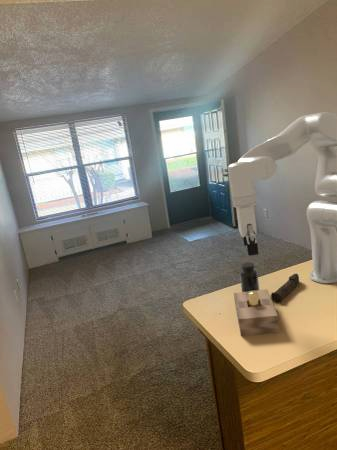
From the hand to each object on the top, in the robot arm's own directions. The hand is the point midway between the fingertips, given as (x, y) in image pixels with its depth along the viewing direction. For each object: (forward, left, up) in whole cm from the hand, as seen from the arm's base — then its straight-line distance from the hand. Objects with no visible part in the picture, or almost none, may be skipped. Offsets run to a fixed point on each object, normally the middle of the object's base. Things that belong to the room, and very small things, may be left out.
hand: (251, 249), depth 111 cm
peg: (+1, +4, -24) cm, 24 cm away
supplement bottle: (0, -16, -24) cm, 29 cm away
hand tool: (-13, -14, -24) cm, 31 cm away
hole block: (+1, +4, -24) cm, 24 cm away
